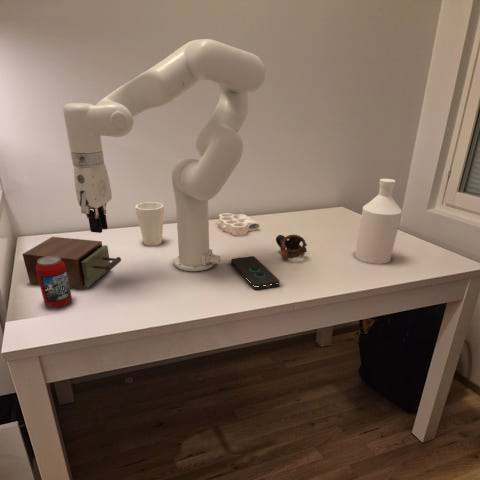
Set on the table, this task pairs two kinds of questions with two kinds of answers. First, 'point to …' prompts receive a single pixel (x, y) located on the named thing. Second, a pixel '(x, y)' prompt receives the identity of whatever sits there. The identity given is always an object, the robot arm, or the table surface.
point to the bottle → (379, 226)
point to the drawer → (96, 264)
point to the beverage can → (53, 281)
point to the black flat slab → (254, 272)
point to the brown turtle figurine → (291, 246)
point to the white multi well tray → (237, 223)
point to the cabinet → (61, 257)
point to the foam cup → (151, 222)
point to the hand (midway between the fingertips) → (99, 229)
